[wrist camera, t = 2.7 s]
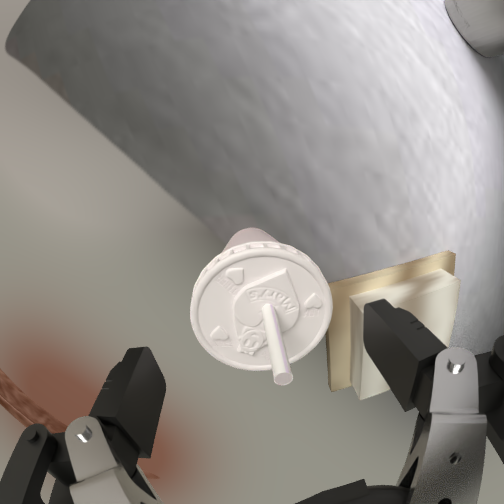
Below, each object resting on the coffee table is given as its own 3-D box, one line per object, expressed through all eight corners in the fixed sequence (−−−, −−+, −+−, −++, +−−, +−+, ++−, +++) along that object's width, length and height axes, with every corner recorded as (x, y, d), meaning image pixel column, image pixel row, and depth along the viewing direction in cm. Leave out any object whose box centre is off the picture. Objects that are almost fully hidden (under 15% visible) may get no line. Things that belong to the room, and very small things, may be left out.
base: (448, 250, 22) (475, 264, 18) (435, 345, 25) (454, 365, 21) (321, 285, 22) (337, 309, 18) (328, 384, 26) (339, 412, 21)
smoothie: (306, 228, 20) (411, 330, 7) (273, 300, 22) (312, 450, 9) (226, 196, 19) (203, 260, 6) (197, 274, 21) (152, 420, 8)
